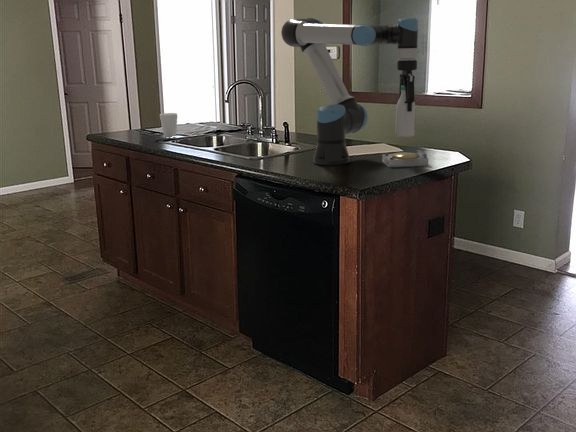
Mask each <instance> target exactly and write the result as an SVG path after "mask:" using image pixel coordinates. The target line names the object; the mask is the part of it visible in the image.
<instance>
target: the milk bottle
mask: <svg viewBox="0 0 576 432" xmlns="http://www.w3.org/2000/svg"><path fill="white" fill-rule="evenodd" d="M405 101H406V92H405V87H404V85H402V86H401V96H400V99H399V98H398V100H397V103H396V109H395V125H394V127H395V128H394V129H395V130H394V131H395V132H394V134H395V136H396V137H399V138H412V137H415V130H416V129H415V128H416V113H417V112H416V109H417V107H416V102H415V101H414V102H413V109H412V120H405V103H404V102H405Z"/></svg>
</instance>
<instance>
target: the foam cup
mask: <svg viewBox="0 0 576 432" xmlns="http://www.w3.org/2000/svg"><path fill="white" fill-rule="evenodd" d="M159 119H160V124H161V127H162V133H163V137H164V136H165V137H172V136H176V137H177V128H178V113H176V112H165V113H160V114H159ZM165 137H164V138H165Z"/></svg>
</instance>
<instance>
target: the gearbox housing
mask: <svg viewBox="0 0 576 432" xmlns="http://www.w3.org/2000/svg"><path fill="white" fill-rule="evenodd" d="M382 163H383V164H384V165H385V166H387V168H400V167H401V168H403V167H408V168H409V167H423V166H425V167H427V166H429V157H428V156H427V153H426V152H424V151H423V150H421V149H417V152H404V151H403V152H395V153H389V152H388V153H387V152H386V153H383V154H382Z"/></svg>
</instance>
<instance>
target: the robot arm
mask: <svg viewBox="0 0 576 432" xmlns="http://www.w3.org/2000/svg"><path fill="white" fill-rule="evenodd" d="M418 22H419V21H418V19H417V18H415V17H406V18H405V17H403V18H399V19H398V20H397V23H395V24H346V23H345V24H344V23H343V24H342V23H341V24H340V23H334V24H333V23H323V21H322V20H321V19H317V18H315V17H314V18H312V17H308V18H297V17H295V18H291V19H288V20H287V21H285V22H284V24H283V26H282V27H281V31H280V32H281V38H282V41H283V42H284V43H285V44H286V45H288V46H290V47H294V48H295V47H296V48H300V50H301V52H302V54H303V55H304V56H306V57H308V59H309V60H310V63H311V65H312V67H313V69H314V71H315V73H316V75H317V78H318V79H319V81H320V83H321V85H322V88H323V90H324V92H325V94H326V96H327V99H328V100H329V102H330V104H329V105H324V106H320V107H319V108H318V109H317V111H316V117H315V118H316V135H317V136H316V137H317V138H316V141H317V144H316V148H315V151H314V155H313V164H315V165H320V166H341V165H346V164H348V163H350V154H349V152H348V148H347V145H346V135H349V134H354V133H357V132H359V131H361V130H363V129H364V128H365V127H366V125H367V122H368V119H369V117H368V111H367V109H366V108H365V107H364V105H362V104H359V103H358V102H357V100H356V98H355V96H352V95H350V94H349V92H348V90H347V87H346V86H345V84H344V82H343V79H342V77H341V75H340V73H339V71H338V69H337V67H336V65H335V63H334V61H333V59H332V56H331V54H330V53H329V50H328V48H327V45H328V44H329V45H351V46H352V45H356V46H362V47H367V46H383V45H397V58H396V59H398V61H397V68H396V69H397V71H402V72H401V73H400V74H399V90H398V91H399V92H398V100H399V99H400V96H401V86H402V85H404V87H405V92H406V101H405V102H404V103H405V120H412V109H413V102H415V75H413V71H417V69H418V60H417V58H418V54H419V49H418V33H419V26H418V25H419V23H418Z"/></svg>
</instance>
